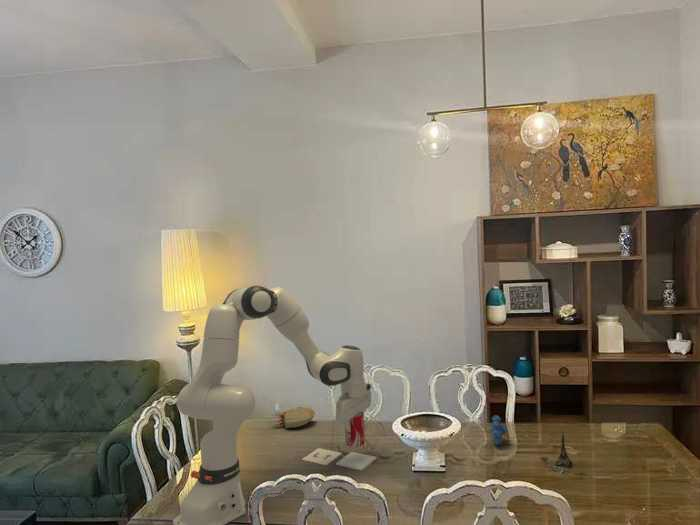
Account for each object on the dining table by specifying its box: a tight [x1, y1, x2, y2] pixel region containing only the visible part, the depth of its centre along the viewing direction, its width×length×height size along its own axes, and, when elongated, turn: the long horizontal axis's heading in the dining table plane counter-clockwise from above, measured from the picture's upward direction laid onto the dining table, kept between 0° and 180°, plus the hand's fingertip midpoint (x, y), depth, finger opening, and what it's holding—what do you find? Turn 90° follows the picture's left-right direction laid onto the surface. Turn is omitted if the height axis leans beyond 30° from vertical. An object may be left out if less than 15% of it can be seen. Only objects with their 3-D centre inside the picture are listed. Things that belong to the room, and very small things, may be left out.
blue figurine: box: [489, 414, 509, 446], centre depth 195 cm, size 12×7×12 cm, turn 164°
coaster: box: [335, 451, 378, 471], centre depth 187 cm, size 11×11×1 cm
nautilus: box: [268, 406, 316, 429], centre depth 227 cm, size 8×22×15 cm
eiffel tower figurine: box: [539, 431, 587, 476], centre depth 176 cm, size 15×10×13 cm
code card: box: [301, 447, 343, 466], centre depth 192 cm, size 11×11×1 cm
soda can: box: [344, 412, 366, 449], centre depth 187 cm, size 7×7×12 cm
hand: (354, 426), depth 186 cm, fingers closed on soda can, 7 cm apart
